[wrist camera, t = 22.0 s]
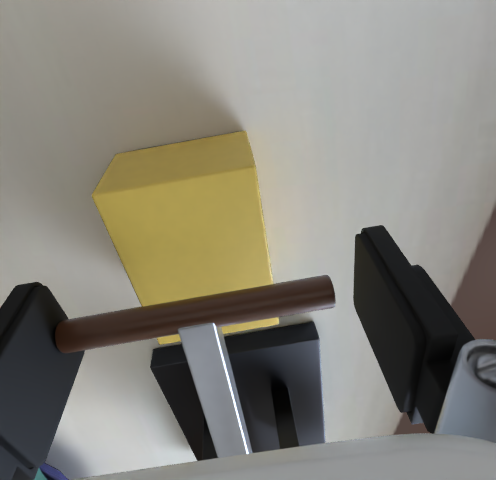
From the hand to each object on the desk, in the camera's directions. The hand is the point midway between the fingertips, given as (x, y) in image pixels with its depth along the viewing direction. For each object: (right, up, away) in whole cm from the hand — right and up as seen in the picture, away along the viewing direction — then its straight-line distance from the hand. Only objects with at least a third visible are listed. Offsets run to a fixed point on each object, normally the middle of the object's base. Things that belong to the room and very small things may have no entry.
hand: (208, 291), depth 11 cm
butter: (-1, +2, +4) cm, 5 cm away
